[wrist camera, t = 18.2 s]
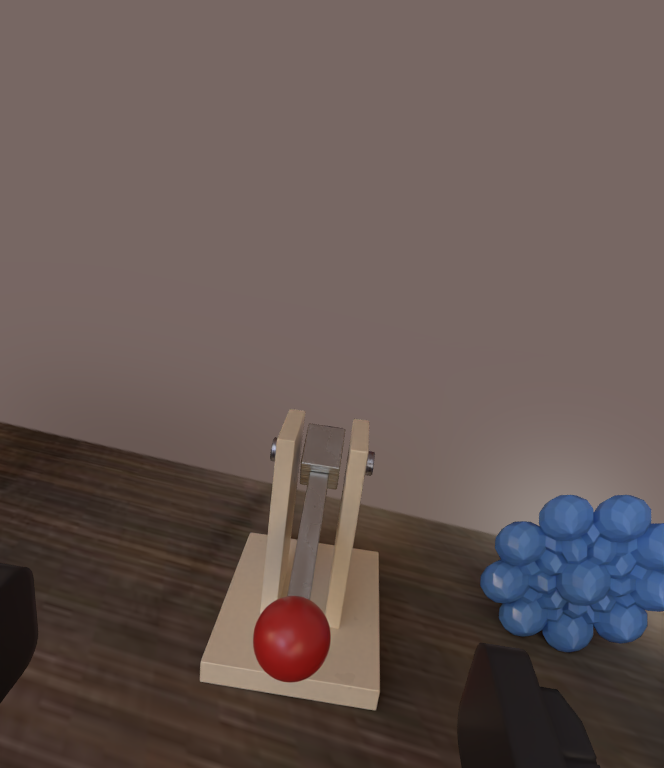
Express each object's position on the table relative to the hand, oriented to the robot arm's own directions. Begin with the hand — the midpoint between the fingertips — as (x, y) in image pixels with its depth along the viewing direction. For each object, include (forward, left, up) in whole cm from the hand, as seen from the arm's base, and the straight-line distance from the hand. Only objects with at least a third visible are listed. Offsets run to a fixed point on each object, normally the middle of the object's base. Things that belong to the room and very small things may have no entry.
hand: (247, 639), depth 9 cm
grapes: (+7, +27, -19) cm, 34 cm away
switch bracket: (-8, +18, -19) cm, 27 cm away
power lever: (-7, +15, -11) cm, 20 cm away
